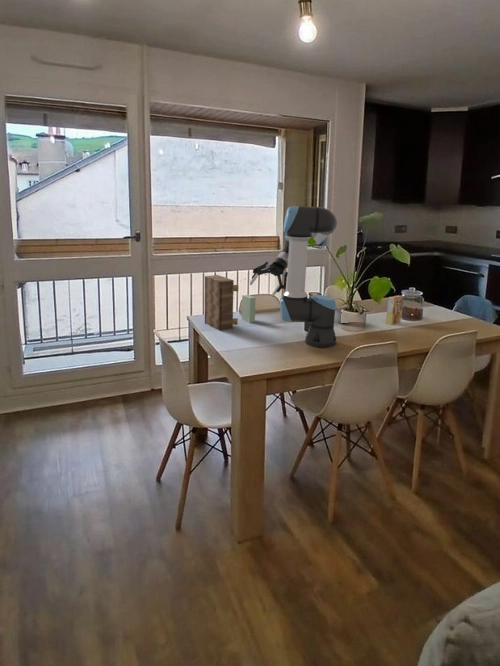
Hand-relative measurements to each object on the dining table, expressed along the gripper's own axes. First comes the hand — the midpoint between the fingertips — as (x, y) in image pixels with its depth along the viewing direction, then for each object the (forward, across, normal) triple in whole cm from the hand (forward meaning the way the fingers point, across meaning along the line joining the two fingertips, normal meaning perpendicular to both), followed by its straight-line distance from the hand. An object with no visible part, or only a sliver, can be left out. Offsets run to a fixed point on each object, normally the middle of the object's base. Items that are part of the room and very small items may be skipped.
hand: (261, 289), depth 257 cm
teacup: (-21, -42, -26) cm, 54 cm away
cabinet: (+23, +11, -15) cm, 30 cm away
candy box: (-37, -67, -26) cm, 81 cm away
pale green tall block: (+8, +3, -23) cm, 25 cm away
